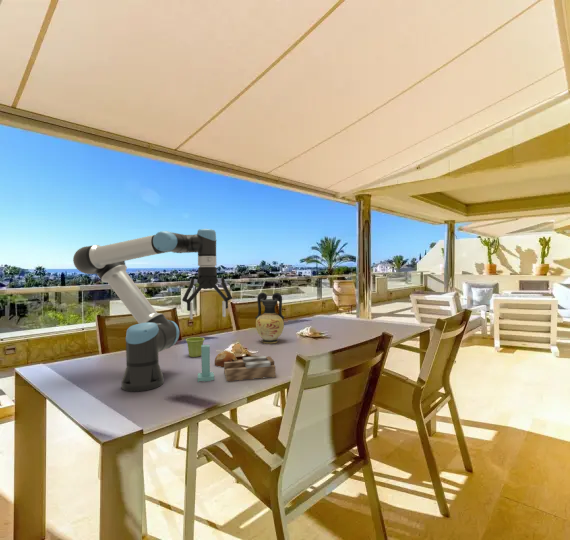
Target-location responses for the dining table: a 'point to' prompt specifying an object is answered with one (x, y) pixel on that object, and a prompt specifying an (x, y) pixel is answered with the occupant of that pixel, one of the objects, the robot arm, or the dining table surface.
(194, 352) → the plant pot
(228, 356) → the bread roll
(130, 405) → the dining table surface
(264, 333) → the amphora
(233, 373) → the slot board
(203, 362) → the t post
